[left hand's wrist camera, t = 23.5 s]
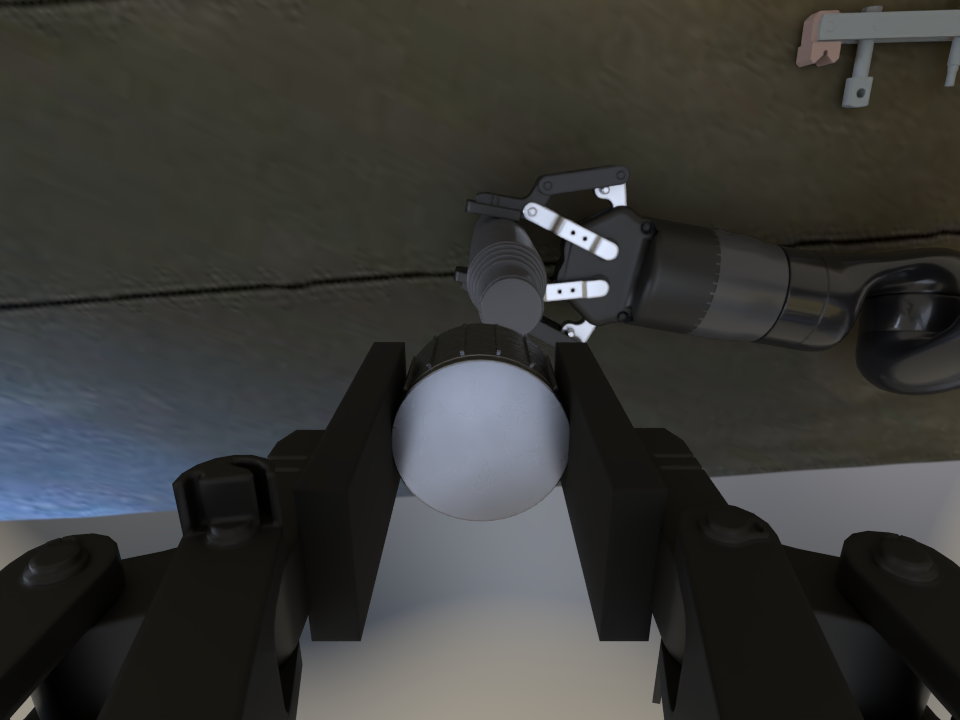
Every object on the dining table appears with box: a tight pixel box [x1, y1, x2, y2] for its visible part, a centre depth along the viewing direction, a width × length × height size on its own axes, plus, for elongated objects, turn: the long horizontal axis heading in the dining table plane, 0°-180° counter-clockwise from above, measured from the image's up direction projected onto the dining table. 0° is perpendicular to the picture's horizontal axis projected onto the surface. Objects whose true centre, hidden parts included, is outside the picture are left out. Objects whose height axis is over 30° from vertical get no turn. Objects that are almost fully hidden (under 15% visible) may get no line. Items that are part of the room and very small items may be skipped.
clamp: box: [796, 6, 960, 108], centre depth 40 cm, size 15×2×10 cm
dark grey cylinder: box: [467, 215, 547, 335], centre depth 35 cm, size 4×4×24 cm
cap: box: [391, 323, 570, 521], centre depth 13 cm, size 4×4×3 cm
